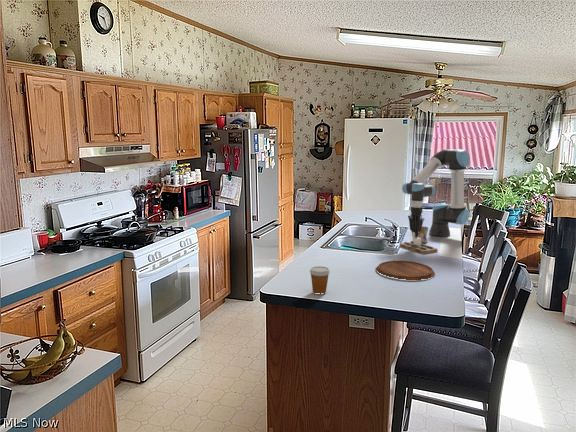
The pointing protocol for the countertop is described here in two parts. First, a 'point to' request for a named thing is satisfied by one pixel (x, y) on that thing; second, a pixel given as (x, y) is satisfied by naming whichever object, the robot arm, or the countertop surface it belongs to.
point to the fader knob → (417, 241)
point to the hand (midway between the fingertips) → (414, 241)
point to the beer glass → (319, 278)
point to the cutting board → (405, 270)
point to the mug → (423, 234)
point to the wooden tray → (418, 247)
